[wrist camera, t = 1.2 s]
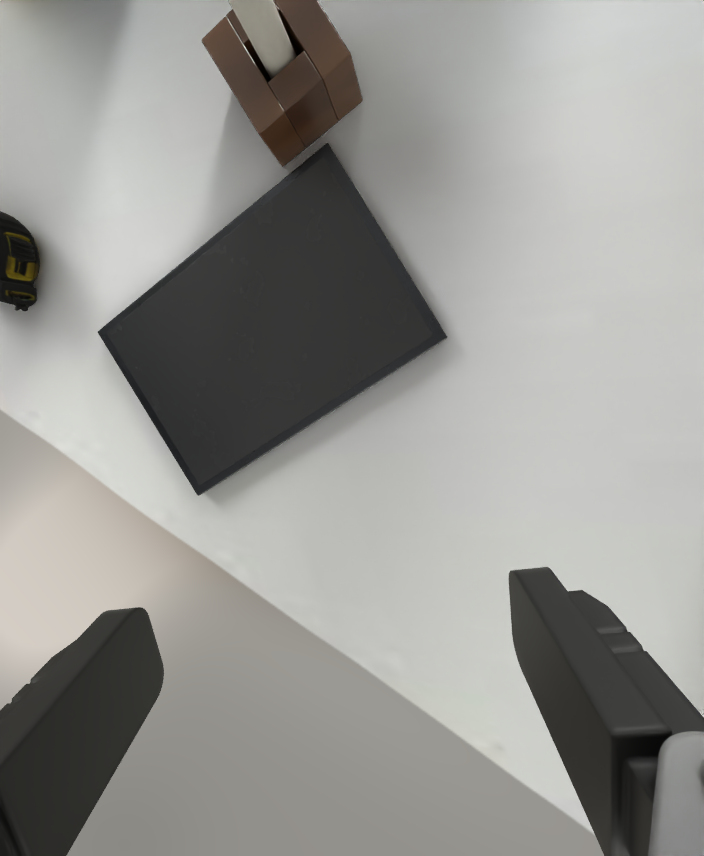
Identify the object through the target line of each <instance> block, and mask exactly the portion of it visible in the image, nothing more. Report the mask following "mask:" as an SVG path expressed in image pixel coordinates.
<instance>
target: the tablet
mask: <svg viewBox="0 0 704 856" xmlns="http://www.w3.org/2000/svg"><path fill="white" fill-rule="evenodd" d="M98 333H99V335H100V337H101V338H102V340H103V342H104V343H105V345H106V347H107V348H108V350H109V351H110V353H111V355H112V356H113V358H114V360H115V361H116V363H117V365H118V366H119V368H120V369H121V371H122V373H123V374H124V376H125V378H126V379H127V381H128V382H129V384H130V386H131V387H132V389H133V391H134V392H135V394H136V396H137V397H138V399H139V400H140V402H141V404H142V405H143V407H144V409H145V410H146V412H147V413H148V415H149V417H150V418H151V420H152V422H153V423H154V425H155V427H156V428H157V430H158V431H159V433H160V435H161V436H162V438H163V440H164V441H165V443H166V444H167V446H168V448H169V449H170V451H171V453H172V454H173V456H174V458H175V459H176V461H177V462H178V464H179V466H180V467H181V469H182V471H183V472H184V474H185V476H186V477H187V479H188V480H189V482H190V484H191V485H192V487H193V489H194V490H195V492H196V493H197V495H201V494H203V493H205V492H206V491H208V490H209V489H211V488H213V487H214V486H216V485H217V484H219V483H220V482H222V481H224V480H225V479H227V478H228V477H230V476H231V475H233V474H235V473H236V472H238V471H239V470H241V469H242V468H244V467H246V466H247V465H249V464H250V463H252V462H253V461H255V460H257V459H258V458H260V457H261V456H263V455H264V454H266V453H268V452H269V451H271V450H272V449H274V448H275V447H277V446H279V445H280V444H282V443H283V442H285V441H287V440H288V439H290V438H291V437H293V436H294V435H296V434H298V433H299V432H301V431H302V430H304V429H305V428H307V427H309V426H310V425H312V424H313V423H315V422H316V421H318V420H320V419H321V418H323V417H324V416H326V415H327V414H329V413H331V412H332V411H334V410H335V409H337V408H338V407H340V406H342V405H343V404H345V403H346V402H348V401H350V400H351V399H353V398H354V397H356V396H357V395H359V394H361V393H362V392H364V391H365V390H367V389H368V388H370V387H372V386H373V385H375V384H376V383H378V382H379V381H381V380H383V379H384V378H386V377H387V376H389V375H390V374H392V373H394V372H395V371H397V370H398V369H400V368H401V367H403V366H405V365H406V364H408V363H409V362H411V361H412V360H414V359H416V358H417V357H419V356H420V355H422V354H424V353H425V352H427V351H428V350H430V349H431V348H433V347H435V346H436V345H438V344H439V343H441V342H442V341H444V340H446V339H447V336H446V334H445V333H444V331H443V329H442V328H441V326H440V324H439V323H438V321H437V320H436V318H435V316H434V315H433V313H432V311H431V310H430V308H429V307H428V305H427V303H426V302H425V300H424V298H423V297H422V295H421V294H420V292H419V290H418V289H417V287H416V285H415V284H414V282H413V281H412V279H411V277H410V276H409V274H408V272H407V271H406V269H405V268H404V266H403V264H402V263H401V261H400V259H399V258H398V256H397V255H396V253H395V251H394V250H393V248H392V246H391V245H390V243H389V242H388V240H387V238H386V237H385V235H384V233H383V232H382V230H381V229H380V227H379V225H378V224H377V222H376V220H375V219H374V217H373V216H372V214H371V212H370V211H369V209H368V207H367V206H366V204H365V203H364V201H363V199H362V198H361V196H360V194H359V193H358V191H357V190H356V188H355V186H354V185H353V183H352V181H351V180H350V178H349V177H348V175H347V173H346V172H345V170H344V168H343V167H342V165H341V164H340V162H339V160H338V159H337V157H336V156H335V154H334V152H333V151H332V149H331V147H330V146H329V144H328V143H327V144H326V145H324V146H323V147H322V148H321V149H320V150H318V151H317V152H316V153H315V154H313V155H312V156H311V157H310V158H309V159H307V160H306V161H305V162H304V163H303V164H301V165H300V166H299V167H298V168H296V169H295V170H294V171H293V172H292V173H290V174H289V175H288V176H287V177H285V178H284V179H283V180H282V181H281V182H279V183H278V184H277V185H276V186H275V187H273V188H272V189H271V190H270V191H268V192H267V193H266V194H265V195H264V196H262V197H261V198H260V199H259V200H257V201H256V202H255V203H254V204H253V205H251V206H250V207H249V208H248V209H246V210H245V211H244V212H243V213H242V214H240V215H239V216H238V217H237V218H236V219H234V220H233V221H232V222H231V223H229V224H228V225H227V226H226V227H225V228H223V229H222V230H221V231H220V232H218V233H217V234H216V235H215V236H214V237H212V238H211V239H210V240H209V241H208V242H206V243H205V244H204V245H203V246H201V247H200V248H199V249H198V250H197V251H195V252H194V253H193V254H192V255H190V256H189V257H188V258H187V259H186V260H184V261H183V262H182V263H181V264H180V265H178V266H177V267H176V268H175V269H173V270H172V271H171V272H170V273H169V274H167V275H166V276H165V277H164V278H162V279H161V280H160V281H159V282H158V283H156V284H155V285H154V286H153V287H152V288H150V289H149V290H148V291H147V292H145V293H144V294H143V295H142V296H141V297H139V298H138V299H137V300H136V301H134V302H133V303H132V304H131V305H130V306H128V307H127V308H126V309H125V310H124V311H122V312H121V313H120V314H119V315H117V316H116V317H115V318H114V319H113V320H111V321H110V322H109V323H108V324H106V325H105V326H104V327H103V328H102V329H100V330H99V331H98Z"/></svg>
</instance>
